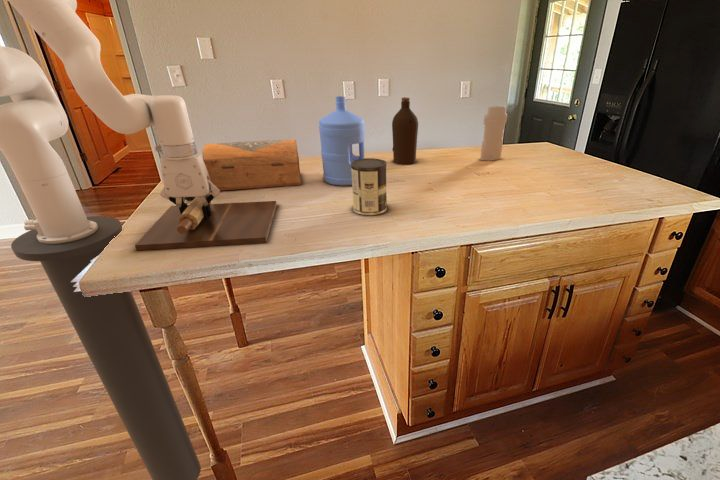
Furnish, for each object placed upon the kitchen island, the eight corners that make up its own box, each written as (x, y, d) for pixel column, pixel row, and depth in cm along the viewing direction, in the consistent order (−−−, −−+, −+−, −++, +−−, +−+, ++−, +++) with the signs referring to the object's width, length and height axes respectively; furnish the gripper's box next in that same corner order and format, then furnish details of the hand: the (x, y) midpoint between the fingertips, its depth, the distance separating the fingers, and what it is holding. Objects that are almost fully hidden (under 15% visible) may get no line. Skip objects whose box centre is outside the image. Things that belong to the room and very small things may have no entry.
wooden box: (299, 172, 151) (295, 135, 144) (302, 185, 137) (297, 145, 130) (216, 177, 144) (207, 138, 137) (209, 192, 130) (199, 149, 123)
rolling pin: (174, 238, 95) (169, 222, 93) (201, 203, 115) (197, 189, 113) (193, 237, 95) (189, 221, 93) (216, 202, 116) (213, 188, 114)
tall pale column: (481, 161, 168) (487, 106, 157) (477, 158, 171) (483, 104, 160) (503, 159, 170) (511, 105, 159) (499, 157, 174) (506, 104, 163)
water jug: (320, 186, 136) (312, 99, 122) (326, 173, 150) (319, 94, 136) (365, 186, 137) (362, 100, 123) (367, 173, 150) (364, 94, 136)
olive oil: (421, 160, 167) (424, 97, 155) (408, 166, 159) (409, 100, 147) (401, 157, 172) (402, 95, 160) (387, 162, 165) (386, 98, 152)
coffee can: (377, 200, 125) (376, 156, 118) (392, 211, 117) (393, 164, 110) (347, 206, 120) (344, 160, 113) (361, 218, 112) (359, 169, 105)
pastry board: (136, 250, 94) (134, 245, 93) (172, 210, 116) (170, 205, 115) (266, 242, 98) (265, 237, 97) (276, 205, 120) (276, 200, 120)
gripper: (136, 155, 92) (159, 226, 101) (212, 153, 94) (227, 222, 103) (148, 147, 98) (168, 215, 107) (219, 145, 101) (233, 212, 110)
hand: (197, 218), depth 105 cm, fingers closed on rolling pin, 4 cm apart
